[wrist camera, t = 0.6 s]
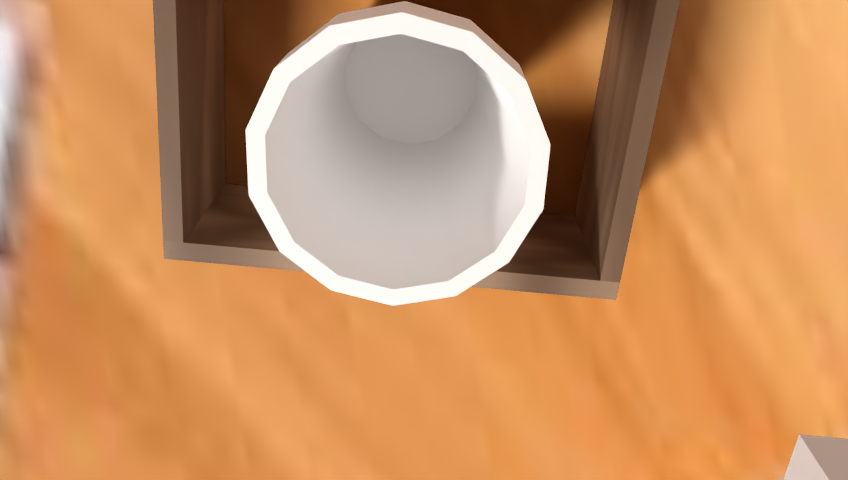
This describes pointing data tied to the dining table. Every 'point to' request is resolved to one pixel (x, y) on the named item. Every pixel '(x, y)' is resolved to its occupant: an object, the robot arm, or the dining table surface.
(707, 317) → the dining table surface
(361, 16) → the foam cup
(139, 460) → the dining table surface
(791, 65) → the dining table surface
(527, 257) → the crate
